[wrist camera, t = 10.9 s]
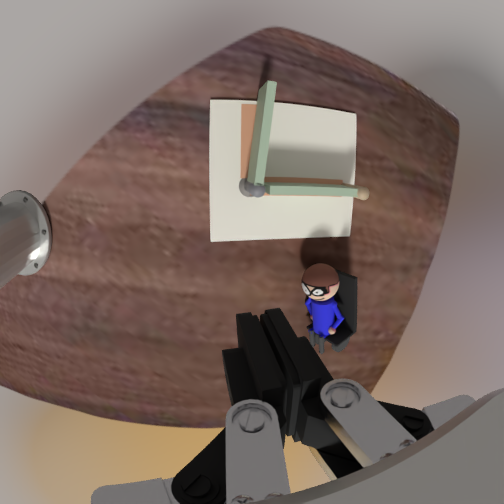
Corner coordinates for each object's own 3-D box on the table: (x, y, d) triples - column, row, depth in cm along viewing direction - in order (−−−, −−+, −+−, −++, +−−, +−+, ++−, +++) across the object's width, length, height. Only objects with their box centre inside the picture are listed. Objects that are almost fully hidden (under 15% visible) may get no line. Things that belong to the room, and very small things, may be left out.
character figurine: (301, 339, 44) (293, 258, 39) (340, 329, 45) (339, 248, 40) (314, 370, 37) (310, 281, 32) (359, 356, 37) (364, 268, 32)
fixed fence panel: (260, 192, 34) (270, 198, 29) (260, 179, 34) (271, 183, 29) (348, 194, 37) (368, 200, 32) (349, 183, 36) (369, 187, 31)
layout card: (210, 240, 35) (210, 241, 35) (210, 100, 30) (210, 99, 29) (348, 235, 39) (349, 236, 39) (354, 114, 33) (356, 114, 33)
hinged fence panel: (255, 193, 34) (264, 198, 30) (243, 192, 33) (250, 196, 29) (269, 91, 30) (279, 82, 26) (256, 89, 29) (265, 79, 25)
